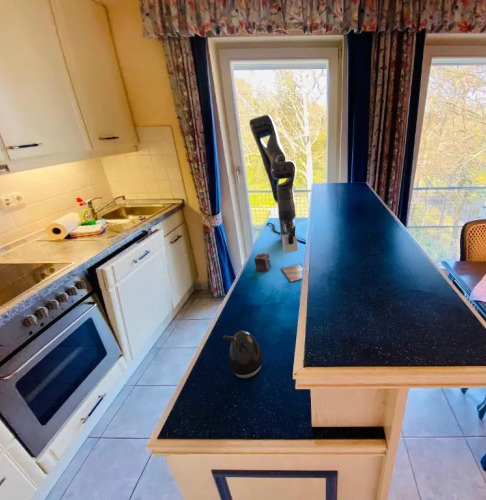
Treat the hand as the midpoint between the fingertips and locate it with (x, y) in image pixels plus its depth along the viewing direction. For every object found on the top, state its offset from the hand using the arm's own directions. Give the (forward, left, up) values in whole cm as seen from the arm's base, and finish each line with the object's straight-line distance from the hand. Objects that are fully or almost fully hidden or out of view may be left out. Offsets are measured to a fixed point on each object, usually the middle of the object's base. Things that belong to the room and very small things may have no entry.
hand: (289, 242), depth 133 cm
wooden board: (0, +2, -18) cm, 18 cm away
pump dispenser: (+49, -32, -18) cm, 61 cm away
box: (-12, -12, -18) cm, 24 cm away
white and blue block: (0, 0, -4) cm, 4 cm away
